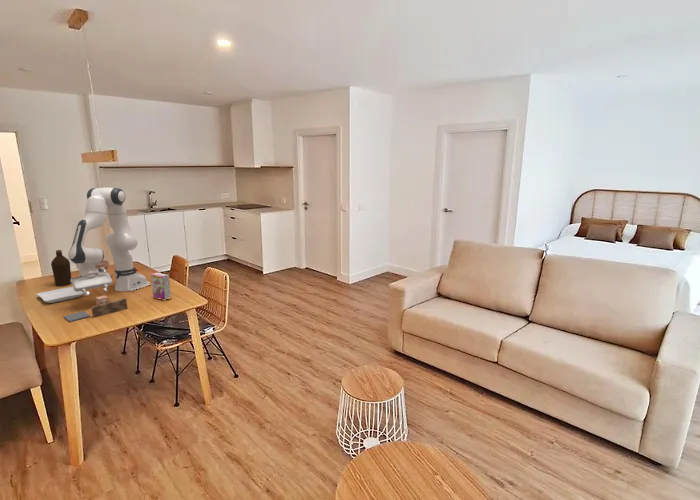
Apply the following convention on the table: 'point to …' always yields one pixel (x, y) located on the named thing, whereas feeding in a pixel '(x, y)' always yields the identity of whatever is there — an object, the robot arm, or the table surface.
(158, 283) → the candy bar box
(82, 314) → the charcoal mat
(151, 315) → the table surface
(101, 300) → the pink block
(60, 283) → the olive oil
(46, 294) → the salad plate
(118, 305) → the walnut screen
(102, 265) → the ceramic jug
